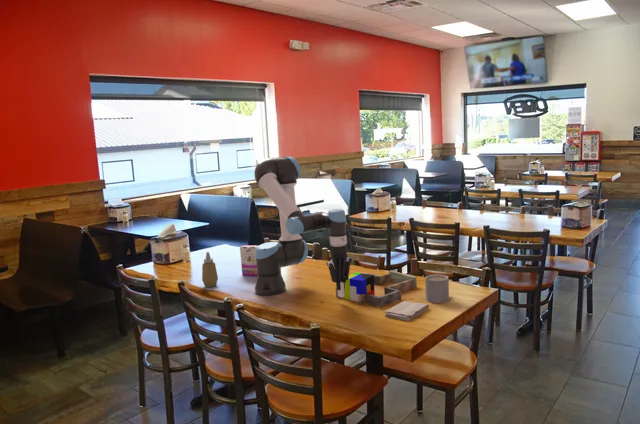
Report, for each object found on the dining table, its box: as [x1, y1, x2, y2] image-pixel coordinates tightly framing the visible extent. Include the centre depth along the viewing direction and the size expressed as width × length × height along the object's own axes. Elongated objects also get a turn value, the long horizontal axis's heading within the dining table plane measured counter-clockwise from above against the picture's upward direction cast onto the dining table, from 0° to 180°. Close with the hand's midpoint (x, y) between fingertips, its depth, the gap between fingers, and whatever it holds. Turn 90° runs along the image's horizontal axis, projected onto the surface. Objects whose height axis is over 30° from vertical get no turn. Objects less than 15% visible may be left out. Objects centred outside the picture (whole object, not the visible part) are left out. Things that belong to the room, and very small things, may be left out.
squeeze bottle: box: [201, 251, 219, 288], centre depth 273 cm, size 8×8×18 cm
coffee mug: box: [424, 273, 450, 304], centre depth 234 cm, size 13×10×10 cm
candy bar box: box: [239, 244, 259, 277], centre depth 290 cm, size 11×5×16 cm, turn 68°
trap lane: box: [335, 270, 418, 308], centre depth 249 cm, size 36×32×5 cm
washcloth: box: [384, 300, 430, 322], centre depth 220 cm, size 12×18×3 cm, turn 143°
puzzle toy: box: [344, 272, 376, 302], centre depth 242 cm, size 10×10×10 cm
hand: (341, 296), depth 236 cm, fingers closed
